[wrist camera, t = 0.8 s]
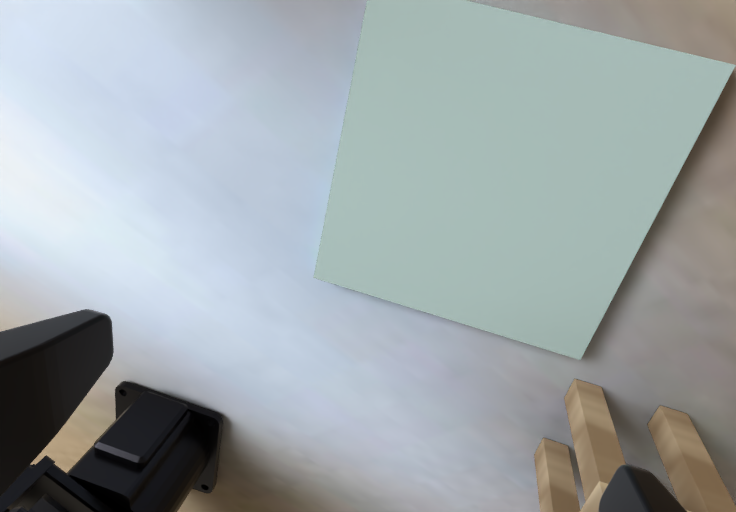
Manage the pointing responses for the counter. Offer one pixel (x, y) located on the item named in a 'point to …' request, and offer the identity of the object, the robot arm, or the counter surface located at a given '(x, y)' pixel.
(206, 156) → the counter surface
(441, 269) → the board
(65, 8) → the counter surface
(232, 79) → the counter surface
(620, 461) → the stool
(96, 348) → the robot arm
